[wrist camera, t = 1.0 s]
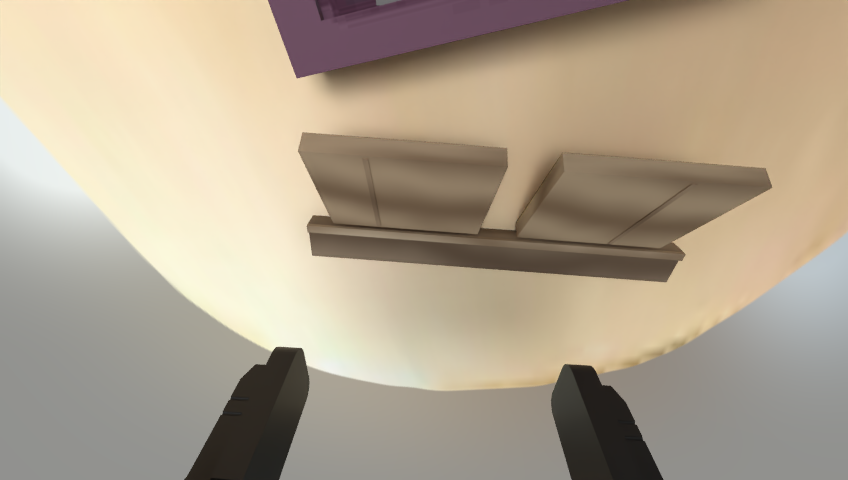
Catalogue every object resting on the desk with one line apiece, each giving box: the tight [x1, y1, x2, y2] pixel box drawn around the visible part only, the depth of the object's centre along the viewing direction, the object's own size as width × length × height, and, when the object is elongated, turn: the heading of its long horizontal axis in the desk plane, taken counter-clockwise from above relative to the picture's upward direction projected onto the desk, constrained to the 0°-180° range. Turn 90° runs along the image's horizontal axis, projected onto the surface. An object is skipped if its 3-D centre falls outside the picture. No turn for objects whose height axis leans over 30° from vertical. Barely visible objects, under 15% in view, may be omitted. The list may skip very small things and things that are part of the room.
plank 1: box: [298, 133, 508, 234], centre depth 23 cm, size 9×11×1 cm
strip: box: [307, 215, 686, 282], centre depth 28 cm, size 3×29×2 cm, turn 86°
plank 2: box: [516, 153, 772, 248], centre depth 23 cm, size 9×11×1 cm
